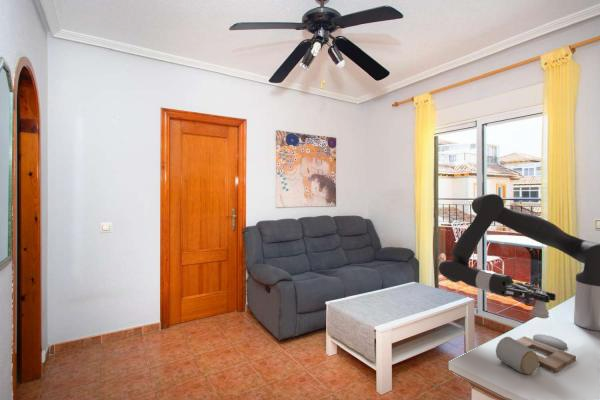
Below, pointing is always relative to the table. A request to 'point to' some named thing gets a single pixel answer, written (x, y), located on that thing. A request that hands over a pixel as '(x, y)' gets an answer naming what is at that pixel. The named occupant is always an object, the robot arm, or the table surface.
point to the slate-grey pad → (550, 341)
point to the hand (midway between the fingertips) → (551, 298)
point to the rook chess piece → (540, 307)
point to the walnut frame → (555, 358)
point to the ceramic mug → (517, 355)
